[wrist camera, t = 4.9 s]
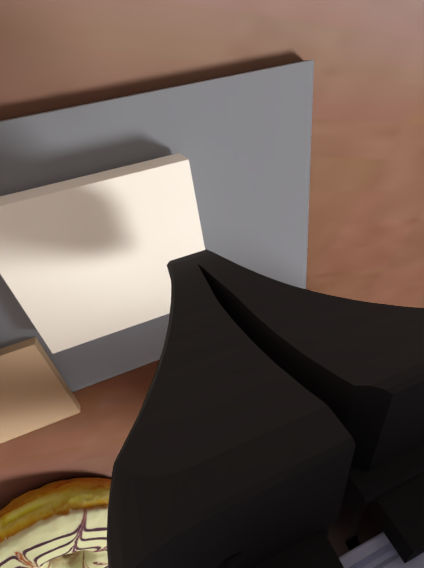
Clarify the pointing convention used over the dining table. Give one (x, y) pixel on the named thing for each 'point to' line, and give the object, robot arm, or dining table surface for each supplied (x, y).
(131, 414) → the dining table surface
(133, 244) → the tile
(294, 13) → the dining table surface
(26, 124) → the mat
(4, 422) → the turner
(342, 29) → the dining table surface
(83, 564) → the decorated donut
